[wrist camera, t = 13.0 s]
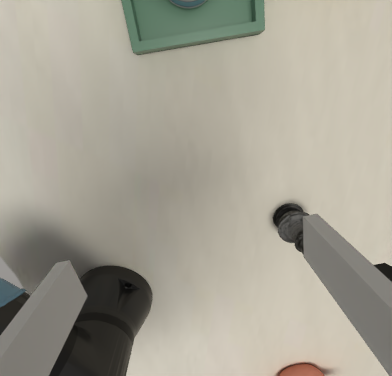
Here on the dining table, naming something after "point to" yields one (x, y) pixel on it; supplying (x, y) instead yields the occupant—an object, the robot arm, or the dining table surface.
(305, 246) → the robot arm
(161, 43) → the tray
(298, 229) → the salt shaker
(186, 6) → the beverage can
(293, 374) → the teapot
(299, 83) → the dining table surface
